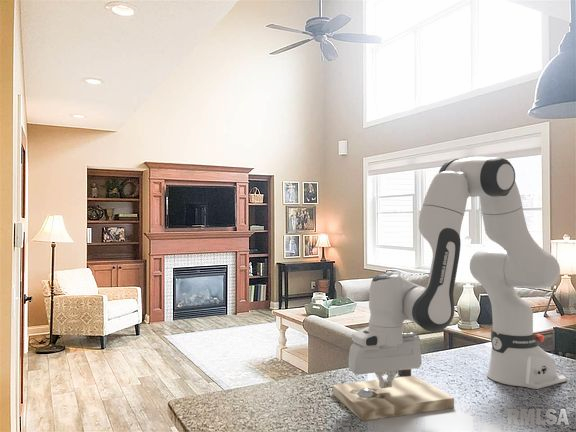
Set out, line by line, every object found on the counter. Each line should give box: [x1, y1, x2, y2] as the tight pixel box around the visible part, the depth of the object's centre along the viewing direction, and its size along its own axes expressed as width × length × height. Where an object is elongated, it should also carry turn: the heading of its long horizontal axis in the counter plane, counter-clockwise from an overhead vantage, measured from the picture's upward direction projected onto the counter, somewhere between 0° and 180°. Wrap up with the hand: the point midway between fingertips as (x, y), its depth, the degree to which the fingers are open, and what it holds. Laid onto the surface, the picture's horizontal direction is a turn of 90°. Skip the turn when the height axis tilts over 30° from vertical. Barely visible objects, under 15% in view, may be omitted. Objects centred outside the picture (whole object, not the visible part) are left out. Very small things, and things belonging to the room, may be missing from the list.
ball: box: [358, 388, 373, 398], centre depth 122 cm, size 4×4×4 cm
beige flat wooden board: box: [332, 375, 455, 422], centre depth 124 cm, size 26×18×2 cm
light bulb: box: [397, 369, 412, 377], centre depth 145 cm, size 7×7×11 cm
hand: (385, 387), depth 123 cm, fingers closed
